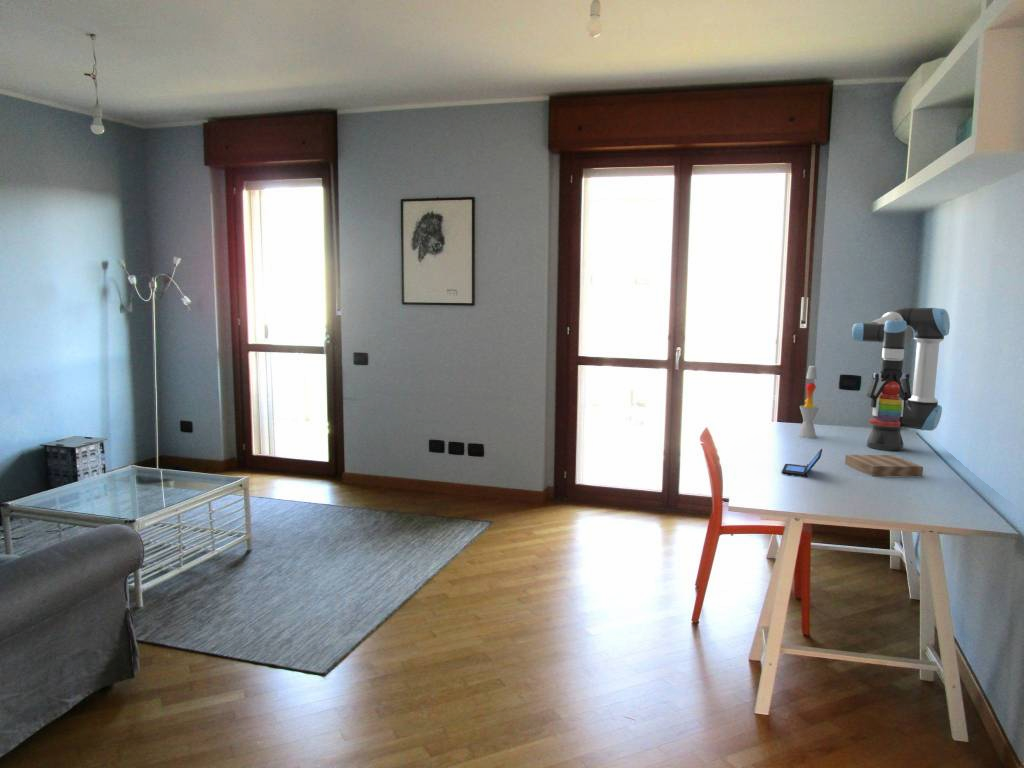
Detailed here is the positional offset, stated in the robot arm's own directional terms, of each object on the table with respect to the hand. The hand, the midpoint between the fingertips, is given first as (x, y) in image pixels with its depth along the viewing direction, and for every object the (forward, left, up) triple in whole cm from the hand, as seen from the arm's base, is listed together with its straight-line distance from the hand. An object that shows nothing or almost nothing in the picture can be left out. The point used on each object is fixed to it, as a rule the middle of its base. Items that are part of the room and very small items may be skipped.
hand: (887, 415), depth 280 cm
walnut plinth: (0, 0, -22) cm, 22 cm away
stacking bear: (0, 0, -4) cm, 4 cm away
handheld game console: (+35, +5, -23) cm, 42 cm away
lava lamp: (-2, -69, -22) cm, 72 cm away
